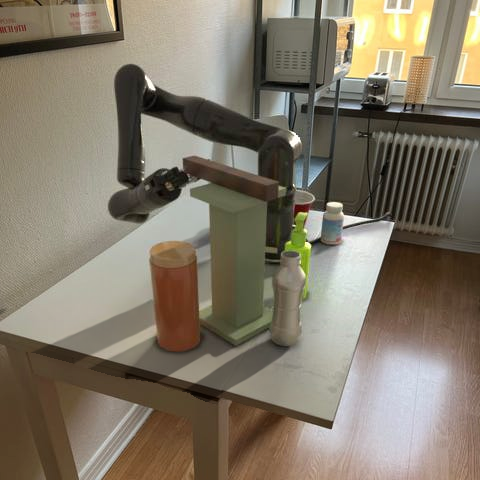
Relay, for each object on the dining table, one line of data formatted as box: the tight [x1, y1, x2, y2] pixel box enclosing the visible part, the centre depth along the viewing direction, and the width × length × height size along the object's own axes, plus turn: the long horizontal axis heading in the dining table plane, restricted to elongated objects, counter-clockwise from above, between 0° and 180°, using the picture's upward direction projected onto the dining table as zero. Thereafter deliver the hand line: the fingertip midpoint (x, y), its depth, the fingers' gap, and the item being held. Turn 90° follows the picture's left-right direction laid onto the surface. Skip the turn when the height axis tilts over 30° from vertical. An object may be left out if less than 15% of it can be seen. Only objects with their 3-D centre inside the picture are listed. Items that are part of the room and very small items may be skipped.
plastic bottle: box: [268, 250, 306, 347], centre depth 98 cm, size 6×7×20 cm
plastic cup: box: [293, 189, 316, 230], centre depth 148 cm, size 11×11×12 cm
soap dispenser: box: [285, 212, 312, 301], centre depth 114 cm, size 6×7×20 cm
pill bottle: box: [320, 201, 345, 245], centre depth 144 cm, size 6×6×11 cm
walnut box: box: [182, 155, 279, 202], centre depth 95 cm, size 24×3×3 cm, turn 43°
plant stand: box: [189, 182, 286, 346], centre depth 102 cm, size 14×14×30 cm
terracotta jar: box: [148, 240, 201, 352], centre depth 98 cm, size 9×9×20 cm
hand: (194, 167), depth 101 cm, fingers open, 8 cm apart
